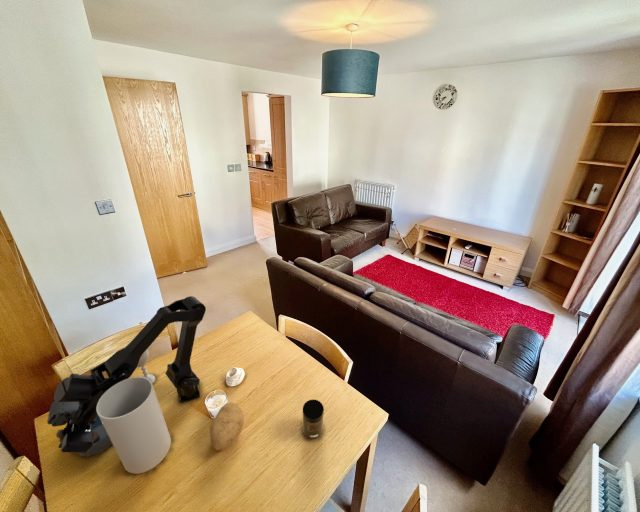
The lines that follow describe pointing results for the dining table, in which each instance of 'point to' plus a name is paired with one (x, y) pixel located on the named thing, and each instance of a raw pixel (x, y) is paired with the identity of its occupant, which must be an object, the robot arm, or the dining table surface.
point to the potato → (226, 426)
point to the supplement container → (313, 418)
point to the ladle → (60, 436)
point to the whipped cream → (234, 376)
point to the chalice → (142, 363)
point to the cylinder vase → (135, 424)
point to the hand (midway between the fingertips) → (60, 444)
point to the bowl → (102, 441)
